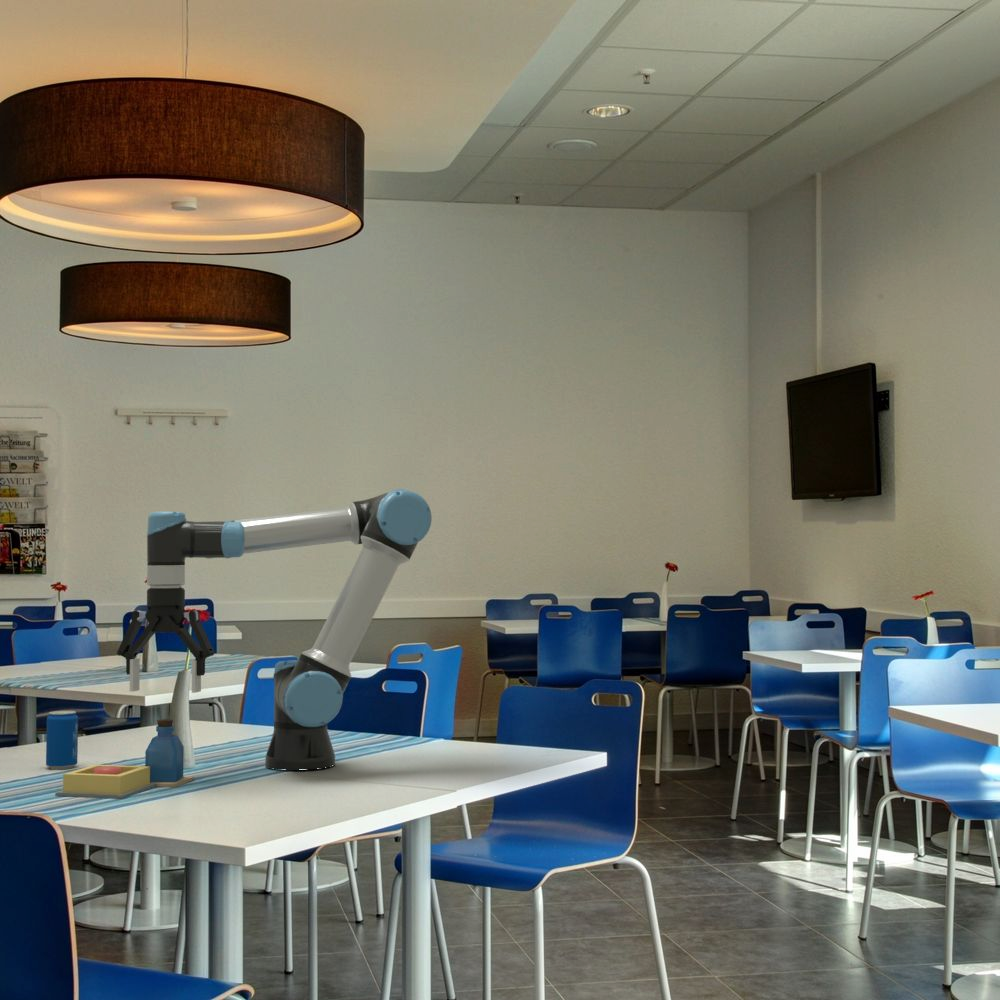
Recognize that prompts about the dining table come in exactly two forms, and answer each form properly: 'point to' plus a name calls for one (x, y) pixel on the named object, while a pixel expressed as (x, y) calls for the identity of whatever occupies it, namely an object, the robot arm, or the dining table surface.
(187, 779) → the coaster
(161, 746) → the perfume bottle
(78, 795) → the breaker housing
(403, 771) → the dining table surface
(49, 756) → the beverage can
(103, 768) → the red short rounded piece
